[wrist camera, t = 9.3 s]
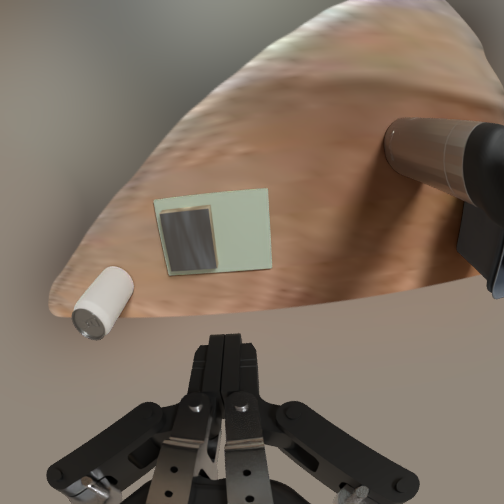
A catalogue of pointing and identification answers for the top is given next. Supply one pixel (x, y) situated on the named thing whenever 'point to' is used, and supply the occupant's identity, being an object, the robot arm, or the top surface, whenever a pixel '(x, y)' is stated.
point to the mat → (230, 228)
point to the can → (102, 303)
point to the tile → (189, 238)
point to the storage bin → (483, 247)
